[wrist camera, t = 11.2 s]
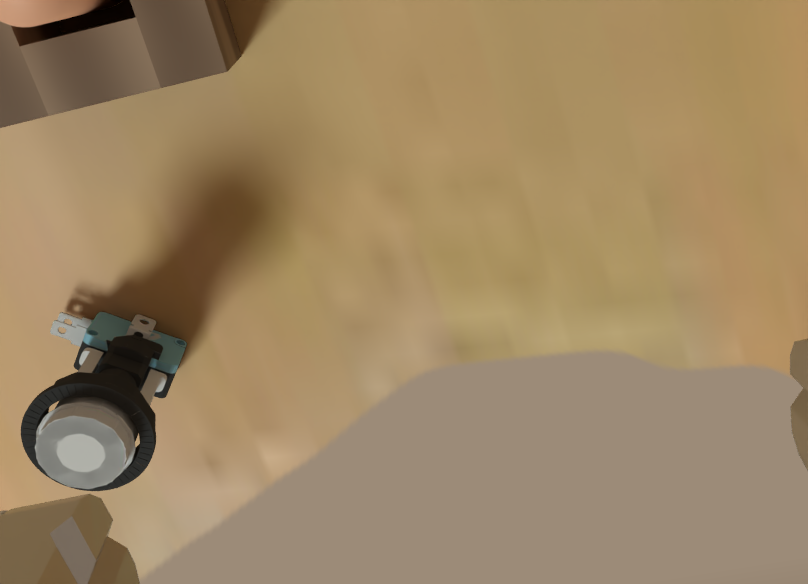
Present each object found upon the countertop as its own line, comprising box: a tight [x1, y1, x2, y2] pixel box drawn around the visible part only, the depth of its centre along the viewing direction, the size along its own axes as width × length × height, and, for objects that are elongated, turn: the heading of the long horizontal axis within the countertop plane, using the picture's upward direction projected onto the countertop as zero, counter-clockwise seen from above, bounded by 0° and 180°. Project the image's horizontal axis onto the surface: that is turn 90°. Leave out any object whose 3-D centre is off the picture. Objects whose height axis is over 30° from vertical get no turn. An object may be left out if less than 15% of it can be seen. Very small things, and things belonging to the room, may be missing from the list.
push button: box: [21, 312, 187, 491], centre depth 35 cm, size 7×5×10 cm
